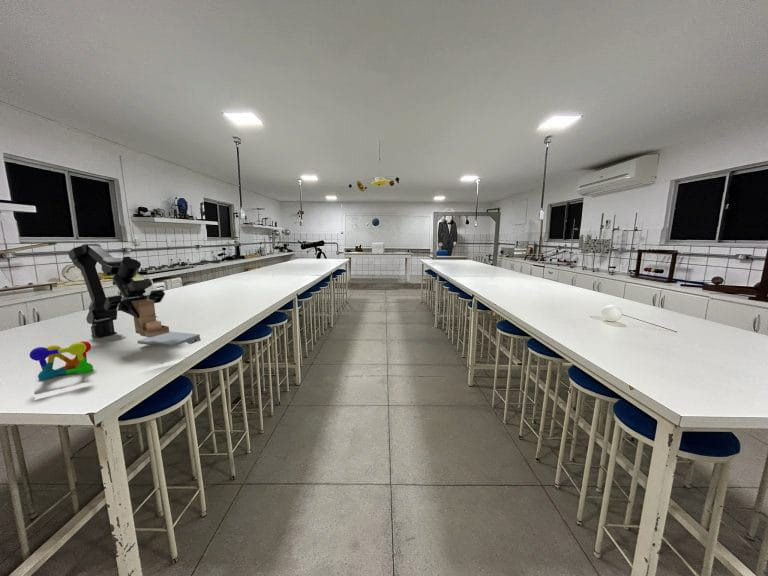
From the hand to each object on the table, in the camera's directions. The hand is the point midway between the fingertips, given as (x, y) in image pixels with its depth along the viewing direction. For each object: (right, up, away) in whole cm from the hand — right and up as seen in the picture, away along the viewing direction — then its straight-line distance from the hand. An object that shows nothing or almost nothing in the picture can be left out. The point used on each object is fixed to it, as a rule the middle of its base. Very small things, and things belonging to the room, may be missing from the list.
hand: (146, 316), depth 117 cm
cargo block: (+4, -6, -1) cm, 7 cm away
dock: (+4, -11, +7) cm, 14 cm away
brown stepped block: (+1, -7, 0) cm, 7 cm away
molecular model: (-6, -17, -24) cm, 30 cm away
